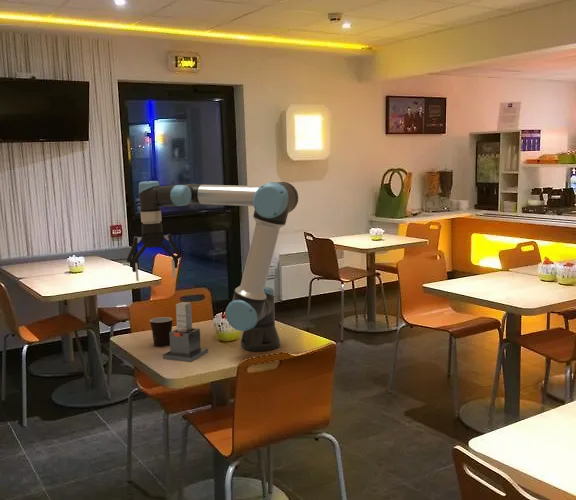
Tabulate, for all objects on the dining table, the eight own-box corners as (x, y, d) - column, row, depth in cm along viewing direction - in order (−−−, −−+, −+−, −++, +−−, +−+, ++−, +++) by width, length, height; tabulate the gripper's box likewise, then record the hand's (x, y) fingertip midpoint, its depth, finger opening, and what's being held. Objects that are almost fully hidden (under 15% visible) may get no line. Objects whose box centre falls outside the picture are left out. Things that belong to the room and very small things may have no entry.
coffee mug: (168, 348, 239) (167, 322, 237) (147, 347, 240) (146, 322, 239) (179, 339, 250) (178, 315, 249) (159, 338, 252) (158, 315, 250)
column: (193, 350, 229) (191, 302, 227) (186, 353, 225) (184, 305, 223) (184, 349, 231) (181, 301, 228) (177, 352, 227) (175, 304, 224)
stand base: (208, 352, 232) (207, 327, 230) (191, 362, 221) (190, 335, 219) (180, 349, 236) (179, 324, 235) (162, 358, 225) (161, 332, 224)
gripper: (184, 219, 238) (187, 274, 240) (116, 224, 231) (121, 280, 234) (186, 220, 230) (190, 277, 233) (117, 225, 224) (122, 283, 226)
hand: (156, 278), depth 233 cm, fingers open, 13 cm apart
